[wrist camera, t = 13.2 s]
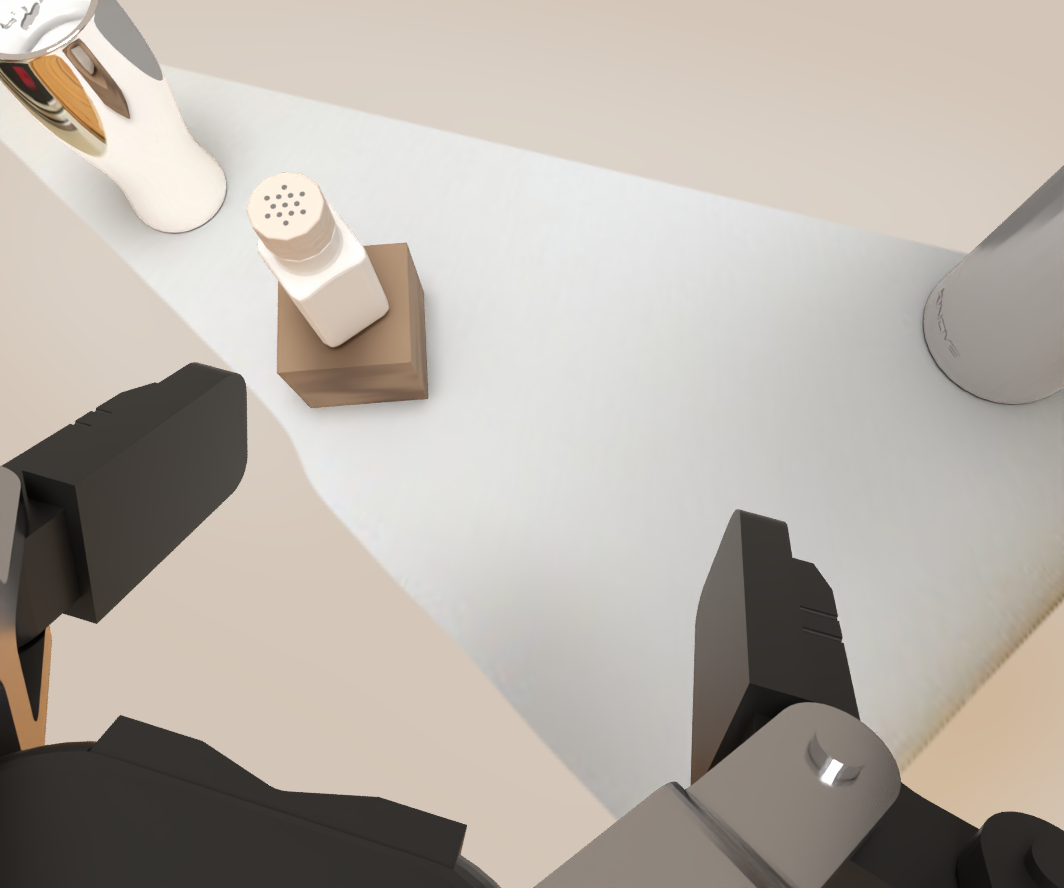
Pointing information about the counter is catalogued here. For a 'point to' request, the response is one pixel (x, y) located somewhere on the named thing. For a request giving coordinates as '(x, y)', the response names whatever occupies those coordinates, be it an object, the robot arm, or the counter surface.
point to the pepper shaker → (315, 257)
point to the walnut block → (361, 344)
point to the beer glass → (109, 105)
